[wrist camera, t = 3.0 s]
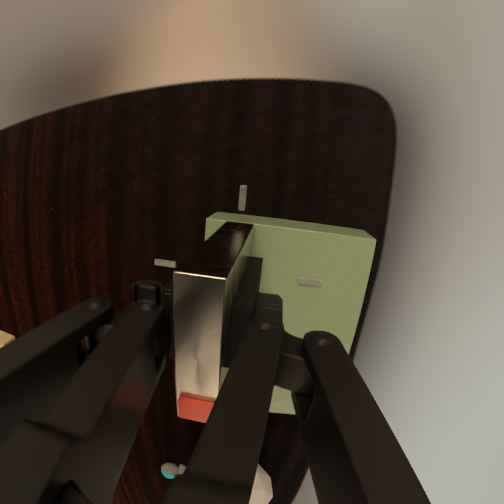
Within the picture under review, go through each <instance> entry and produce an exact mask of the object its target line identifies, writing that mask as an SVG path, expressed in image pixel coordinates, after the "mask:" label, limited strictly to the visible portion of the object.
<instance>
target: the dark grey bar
mask: <svg viewBox="0 0 504 504" xmlns="http://www.w3.org/2000/svg"><path fill="white" fill-rule="evenodd" d="M253 232H254V224H249V223H240V222H231V221H226V222H225V223H224V224H223V225H222V226H221V227H220V228H219V229H218V230H217V231H216V232H214V233H213V234H212V235H211V236H210V237H209V238H208V239H207V240H206V241H205V242H204V243H203V244H202V245H201V246H200V247H199V248H197V249H196V250H195V251H194V252H193V253H192V254H191V255H190V256H189V257H188V258H187V259H186V260H185V261H184V262H183V263H182V264H181V265H180V266H179V267H178V268H177V269H176V270H175V271H174V272H173V333H174V365H175V386H176V402H177V415H178V416H179V417H180V418H184V419H189V420H194V421H199V422H204V423H206V421H207V419H208V417H209V414H210V412H211V410H212V407H213V405H214V403H215V400H216V398H217V395H218V393H219V391H220V388H221V386H222V384H223V381H224V379H225V377H226V374H227V372H228V369H229V368H227V357H228V344H229V331H230V319H231V307H232V304H233V301H234V299H235V296H236V293H237V290H238V288H239V285H240V282H241V279H242V277H243V274H244V271H245V268H246V266H247V263H248V260H249V258H250V256H251V251H252V242H253Z"/></svg>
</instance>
